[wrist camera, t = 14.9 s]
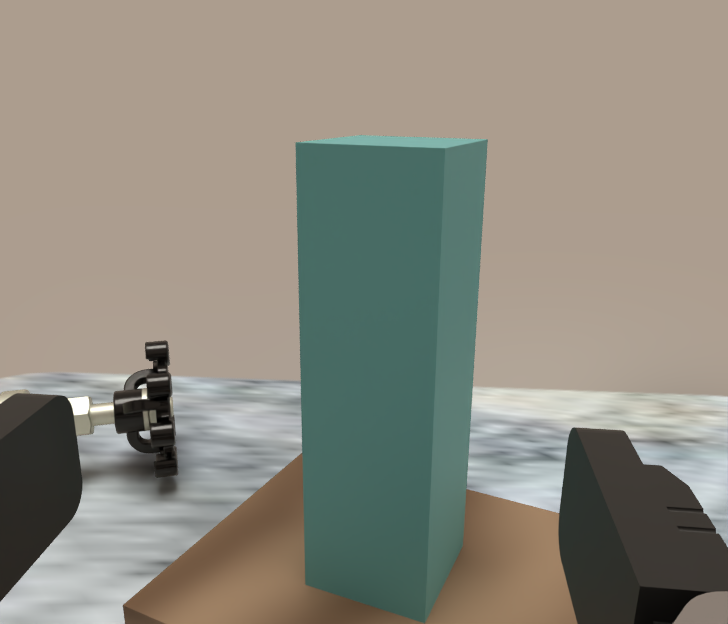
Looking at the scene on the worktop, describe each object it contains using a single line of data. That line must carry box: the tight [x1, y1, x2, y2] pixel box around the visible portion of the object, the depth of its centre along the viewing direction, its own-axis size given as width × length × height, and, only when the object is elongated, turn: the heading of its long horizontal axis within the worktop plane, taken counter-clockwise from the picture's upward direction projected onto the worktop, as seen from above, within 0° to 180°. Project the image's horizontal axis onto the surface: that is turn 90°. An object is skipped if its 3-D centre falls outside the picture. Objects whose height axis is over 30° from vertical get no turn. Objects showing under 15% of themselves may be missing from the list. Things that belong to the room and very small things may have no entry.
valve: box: [0, 341, 178, 478], centre depth 31 cm, size 7×7×12 cm
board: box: [123, 453, 577, 624], centre depth 25 cm, size 14×12×1 cm
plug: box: [296, 135, 488, 623], centre depth 23 cm, size 4×4×15 cm
